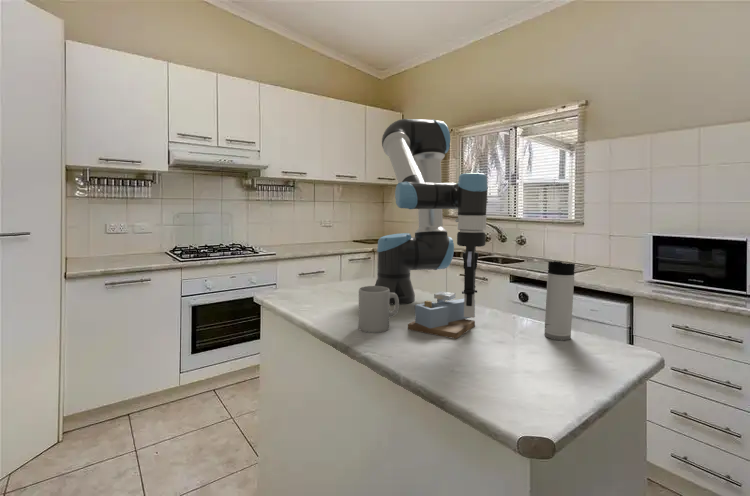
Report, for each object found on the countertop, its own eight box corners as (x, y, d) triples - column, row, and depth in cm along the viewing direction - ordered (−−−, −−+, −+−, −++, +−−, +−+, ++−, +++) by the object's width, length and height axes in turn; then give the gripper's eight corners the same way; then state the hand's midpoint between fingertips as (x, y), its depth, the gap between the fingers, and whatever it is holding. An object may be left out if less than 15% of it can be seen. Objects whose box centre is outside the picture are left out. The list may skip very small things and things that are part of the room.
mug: (366, 334, 107) (367, 293, 106) (353, 325, 115) (353, 287, 114) (406, 328, 113) (406, 289, 112) (390, 320, 120) (391, 283, 119)
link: (430, 328, 108) (430, 309, 107) (415, 322, 113) (415, 304, 113) (478, 318, 118) (479, 301, 117) (462, 313, 123) (463, 296, 123)
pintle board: (429, 318, 123) (430, 293, 122) (474, 325, 116) (475, 299, 115) (407, 329, 112) (408, 302, 111) (456, 338, 104) (457, 310, 104)
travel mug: (540, 337, 106) (544, 260, 104) (549, 331, 111) (553, 258, 109) (565, 342, 102) (569, 263, 100) (574, 336, 107) (578, 260, 105)
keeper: (439, 315, 120) (439, 291, 119) (455, 318, 117) (456, 293, 117) (432, 319, 116) (432, 293, 115) (448, 322, 114) (449, 296, 113)
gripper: (459, 229, 118) (457, 309, 121) (454, 232, 106) (452, 321, 108) (486, 230, 116) (483, 311, 119) (484, 233, 104) (482, 324, 106)
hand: (469, 316), depth 113 cm, fingers closed
